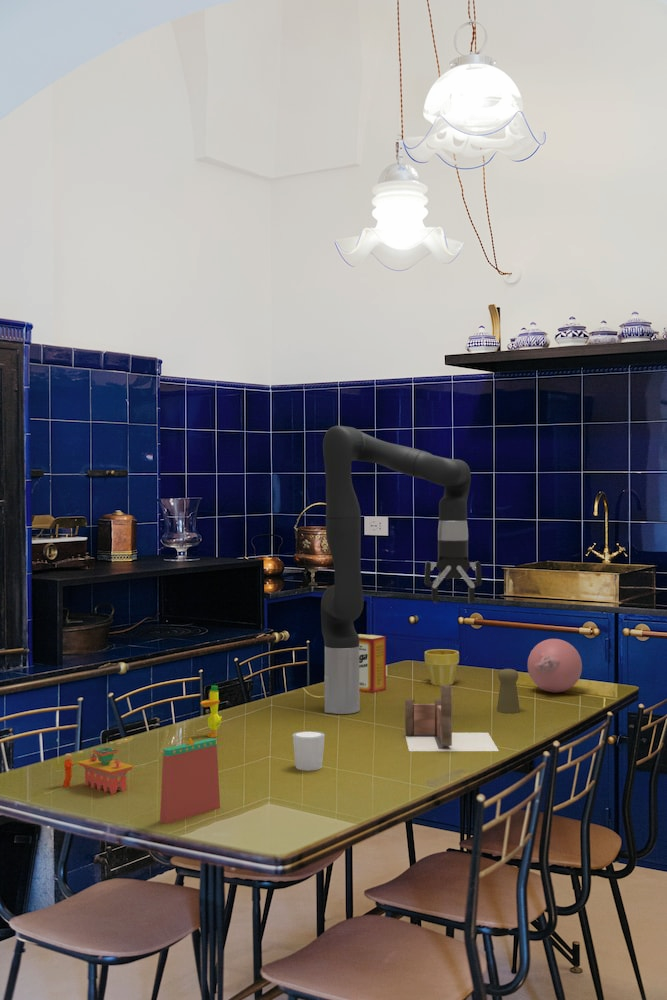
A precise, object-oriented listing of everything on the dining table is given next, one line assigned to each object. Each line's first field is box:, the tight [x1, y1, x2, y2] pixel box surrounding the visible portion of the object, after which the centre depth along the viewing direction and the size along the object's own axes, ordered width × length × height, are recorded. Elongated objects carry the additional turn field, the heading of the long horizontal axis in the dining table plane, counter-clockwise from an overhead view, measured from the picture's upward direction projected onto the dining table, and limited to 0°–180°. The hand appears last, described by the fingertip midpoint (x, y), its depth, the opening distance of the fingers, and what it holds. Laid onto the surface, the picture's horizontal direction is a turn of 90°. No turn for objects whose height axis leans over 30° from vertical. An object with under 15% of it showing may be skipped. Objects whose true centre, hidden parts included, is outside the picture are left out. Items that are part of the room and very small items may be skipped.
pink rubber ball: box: [527, 638, 583, 694], centre depth 307 cm, size 15×20×15 cm
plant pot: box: [424, 648, 460, 687], centre depth 323 cm, size 10×10×10 cm
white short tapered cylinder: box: [292, 730, 326, 772], centre depth 227 cm, size 7×7×7 cm
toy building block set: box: [62, 737, 221, 824], centre depth 205 cm, size 12×35×14 cm, turn 48°
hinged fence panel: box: [437, 685, 453, 746], centre depth 246 cm, size 12×2×14 cm, turn 2°
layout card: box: [404, 732, 500, 752], centre depth 248 cm, size 20×18×1 cm
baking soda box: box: [357, 633, 387, 694], centre depth 314 cm, size 10×6×16 cm
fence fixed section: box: [404, 698, 441, 737], centre depth 254 cm, size 9×2×8 cm, turn 89°
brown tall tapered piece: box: [496, 668, 521, 714], centre depth 283 cm, size 6×6×11 cm
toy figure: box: [200, 685, 222, 738], centre depth 255 cm, size 7×4×12 cm, turn 141°
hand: (453, 603), depth 269 cm, fingers open, 8 cm apart
